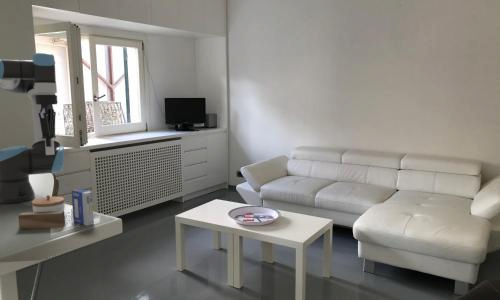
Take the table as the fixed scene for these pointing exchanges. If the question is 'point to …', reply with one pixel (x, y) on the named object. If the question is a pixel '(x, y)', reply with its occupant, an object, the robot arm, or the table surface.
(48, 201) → the lidded jar
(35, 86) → the robot arm
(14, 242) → the table surface
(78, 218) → the walkman
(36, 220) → the bar
